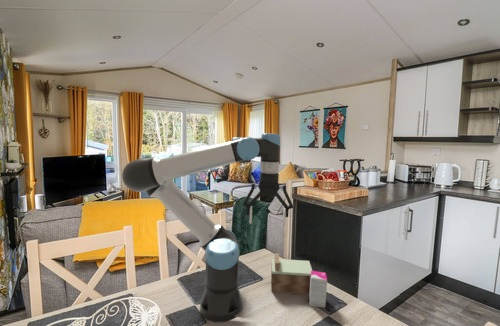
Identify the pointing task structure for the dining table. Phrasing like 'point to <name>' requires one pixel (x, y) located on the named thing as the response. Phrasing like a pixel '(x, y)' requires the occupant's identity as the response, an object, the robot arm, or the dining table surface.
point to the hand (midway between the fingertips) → (267, 223)
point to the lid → (290, 267)
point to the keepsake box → (290, 283)
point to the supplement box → (318, 289)
